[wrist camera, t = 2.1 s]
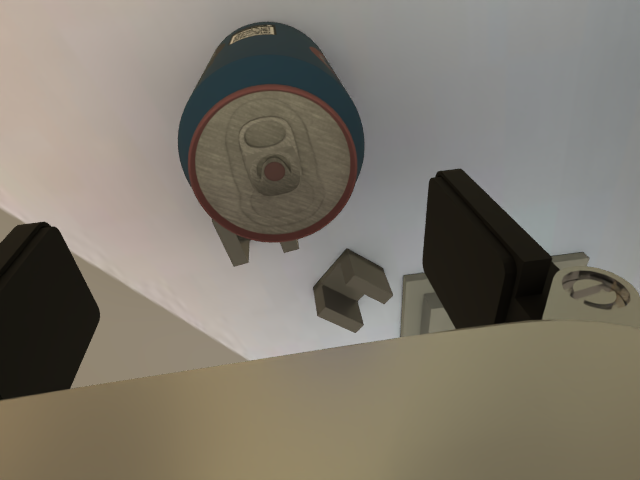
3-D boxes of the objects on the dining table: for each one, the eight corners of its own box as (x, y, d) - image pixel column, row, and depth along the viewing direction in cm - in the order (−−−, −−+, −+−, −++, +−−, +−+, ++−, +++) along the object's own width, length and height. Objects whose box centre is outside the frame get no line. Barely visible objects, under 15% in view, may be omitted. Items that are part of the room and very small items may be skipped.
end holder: (583, 252, 34) (604, 271, 32) (541, 370, 42) (556, 392, 40) (403, 275, 33) (413, 297, 31) (397, 391, 42) (404, 414, 39)
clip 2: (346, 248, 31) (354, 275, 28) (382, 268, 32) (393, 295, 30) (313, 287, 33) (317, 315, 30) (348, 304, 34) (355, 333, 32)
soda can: (338, 130, 26) (383, 235, 16) (229, 154, 26) (208, 273, 16) (318, 6, 22) (362, 41, 12) (190, 34, 22) (130, 92, 12)
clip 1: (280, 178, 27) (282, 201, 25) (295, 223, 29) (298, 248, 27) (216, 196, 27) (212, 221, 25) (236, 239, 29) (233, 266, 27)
